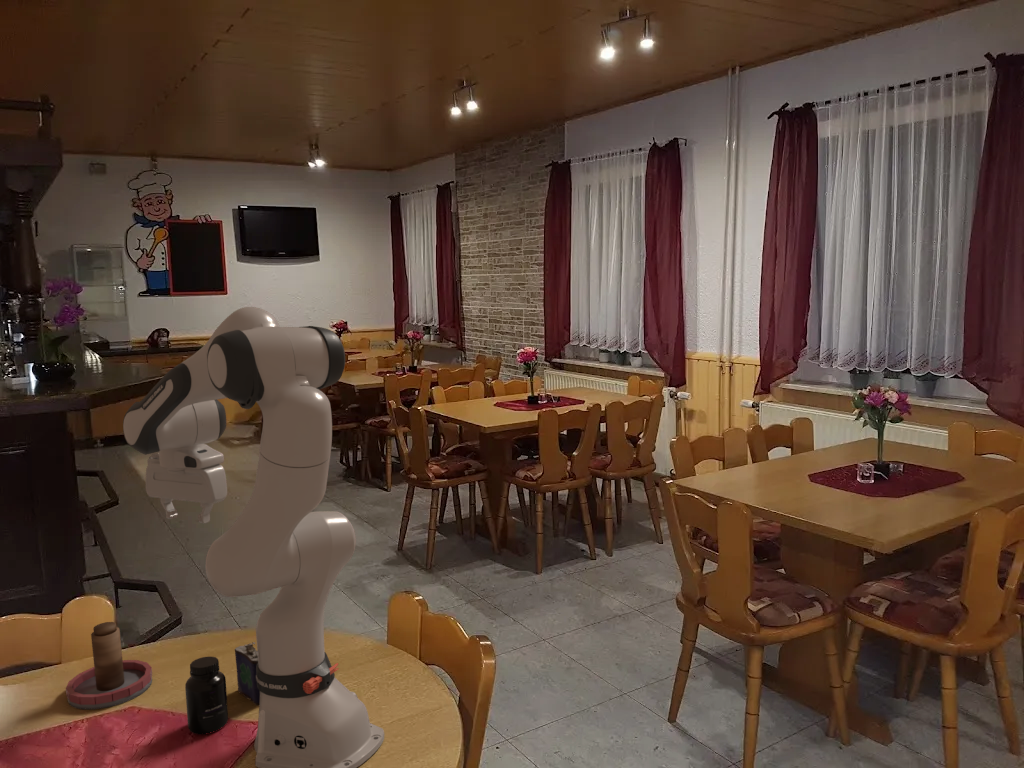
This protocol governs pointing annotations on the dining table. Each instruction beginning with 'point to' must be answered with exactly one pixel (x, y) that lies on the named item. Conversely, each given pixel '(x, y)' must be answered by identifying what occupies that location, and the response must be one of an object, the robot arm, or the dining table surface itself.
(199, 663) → the supplement bottle
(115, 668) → the pepper mill
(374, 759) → the dining table surface
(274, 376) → the robot arm
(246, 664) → the flask
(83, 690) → the round tray
